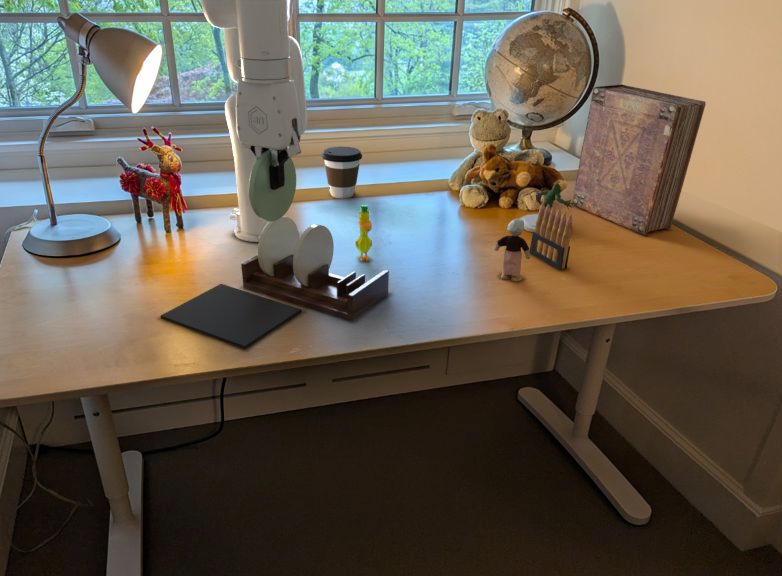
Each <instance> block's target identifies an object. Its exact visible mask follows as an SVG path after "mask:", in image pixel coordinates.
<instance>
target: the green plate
mask: <svg viewBox="0 0 782 576" xmlns="http://www.w3.org/2000/svg"><path fill="white" fill-rule="evenodd" d="M279 153H280V151H279ZM271 165H272V162H271V149H269V150H267V151H265V152H264V153H263V154H262V155H261V156H260V157H259V158H258V159H257V161H256V163H255V165H254V167H253V169H252V172H251V176H250V181H249V199H250V203H251V206H252V209H253V211H254V212H255V214H256V215H257V216H258V217H259V218H261V219H262V220H266V221H276V220H278V219H280V218H281V217H283V216H285V215H286V214H287V212H288V211H289V209H290V208H291V206H292V204H293V202H294V198H295V194H296V189H297V171H296V166H295V163H294V160H293V159H292V156H291V157H289V158H288V160H287V162H286V163H284V174H285V184H284V186H283V187H280V188H278V189H276V190H272V189H271V187H270V173H269V166H271Z"/></svg>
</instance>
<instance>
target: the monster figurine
mask: <svg viewBox="0 0 782 576" xmlns="http://www.w3.org/2000/svg"><path fill="white" fill-rule="evenodd" d="M561 192H562V186H561V184H560V183H558V182H557V183H555V185H554V186H552V188H551V189H547V190H541V191H538V192H535V201H536V202H537V203H538V204H539V206H541V204H542V202H544V205H545V209H546V207H547V205H548V204H549V205H550V210H552V208H553V204H554V202H555V201H557V202H558V203H559V204H561V205H564V206H566V208H567V210H570V208H571V209H573V206H572V204H573V203H572V202H571V201H572V199H570V200H564V199H562V198H561V197H562V195H561ZM542 196H545V197H544V199H543V200H544V201H542ZM569 207H570V208H569ZM544 213H545V211H544ZM538 214H539V213H533V214H526V215H523V216H521V217H520V218H519V219H521V220H523V221H524V229H523V230H525V231H527V232H530V233H533V232H535V226H536V221H537V218H538ZM549 217H550V216H549ZM555 217H556V215H555ZM560 221H561V220H560Z"/></svg>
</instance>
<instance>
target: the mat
mask: <svg viewBox="0 0 782 576" xmlns="http://www.w3.org/2000/svg"><path fill="white" fill-rule="evenodd" d="M302 311H303V310H302V308H299V307H295V306H293V305H289V304H286V303H283V302H280V301H277V300H273V299H271V298H267V297H264V296H261V295H258V294H255V293H251V292H248V291H245V290H242V289H239V288H235V287H234V286H233V287H232V286H229V285H226V284H223V283H219V284H218V285H216V286H214V287H212V288H210V289H208V290H206V291H205V292H202V293H200V294H199V295H197V296H195V297H193V298H191V299H189V300H187V301H185V302H183V303H181V304H180V305H178V306H175V307H174V308H172V309H170V310H168V311H166V312H165V313H162V314H161V315H160V319H162V320H164V321H168V322H170V323H173V324H175V325H178V326H181V327H184V328H186V329H190V330H192V331H195V332H196V333H197V332H198V333H200V334H203V335H206V336H208V337H211V338H214V339H217V340H219V341H222V342H225V343H228V344H230V345H232V346H235V347H239V348H241V349H244V350H246V349H248V348H249V347H251V346H252V345H253V344H255V343H257V342H258V341H260V340H261V339H263V338H264V337H266V336H267V335H269V334H270V333H271V332H273V331H275V330H276V329H278V328H280V327H281V326H282V325H284V324H286V323H287V322H288V321H290V320H292V319H293V318H295V317H296V316H298V315H300V314H301V313H302Z"/></svg>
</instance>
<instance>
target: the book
mask: <svg viewBox="0 0 782 576" xmlns="http://www.w3.org/2000/svg"><path fill="white" fill-rule="evenodd" d="M706 104H707V103H706V101H704V100H700V99H695V98H690V97H685V96H679V95H674V94H671V93H665V92H660V91H656V90H652V89H651V90H650V89H645V88H641V87H636V86H631V85H628V84H627V85H626V84H612V85H604V86H603V85H601V86H594V87H593V89H592V94H591V98H590V104H589V110H588V115H587V121H586V126H585V131H584V137H583V143H582V148H581V154H580V159H579V164H578V168H577V174H576V181H575V185H574V191H573V197H572V200H571V201H572V202H571V203H573V204H571V206H573V207H576V208H578V209H581V210H583V211H584V212H588V213H590V214H592V215H594V216H597V217H599V218H602V219H603V220H606V221H609V222H611V223H612V224H616V225H618V226H620V227H622V228H625V229H627V230H629V231H632V232H634V233H636V234H638V235H641V236H643V237H645V236H646V235H647V234H648V233H649V232H655V231H659V230H663V229H664V230H666V231H669V230H671V229H672V225H673V221H674V217H675V215H676V211H677V207H678V205H679V200H680V197H681V193H682V189H683V186H684V182H685V179H686V175H687V172H688V169H689V165H690V161H691V158H692V156H693V155H692V154H693V150H694V148H695V143H696V140H697V136H698V134H699V133H698V132H699V129H700V127H701V122H702V119H703V115H704V112H705V108H706Z"/></svg>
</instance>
